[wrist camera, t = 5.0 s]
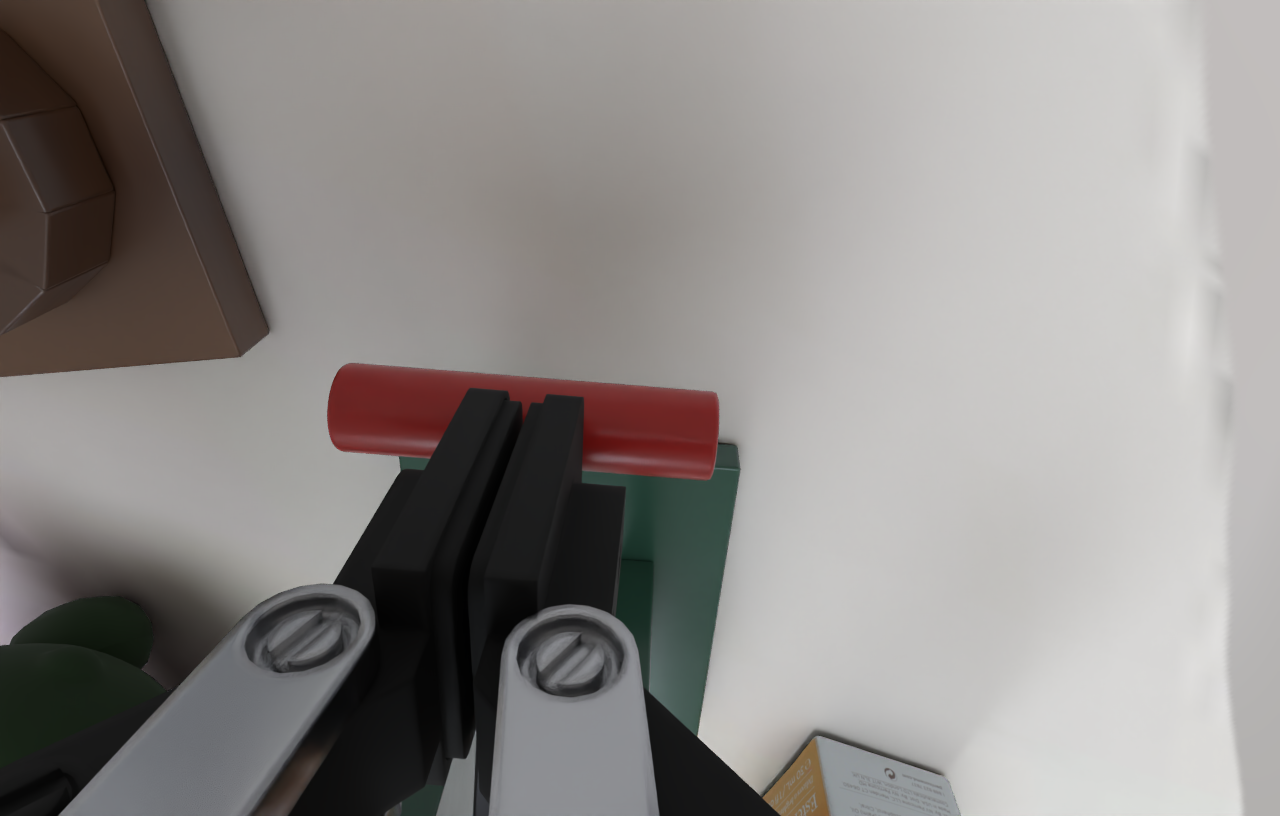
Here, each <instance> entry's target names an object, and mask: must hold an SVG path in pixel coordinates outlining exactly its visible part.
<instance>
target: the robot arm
mask: <svg viewBox="0 0 1280 816" xmlns="http://www.w3.org/2000/svg"><path fill="white" fill-rule="evenodd" d="M583 430H584V397H580V396H568V395H555V394H546V396H545V399H544V402H543V403H536V402H531V404H530V407H529V409H528V412H527V415H526V417H525V420H524V423H523V410H522V403H521V401H511V400H510V396H509V392H508V391H506V390H494V389H481V388H469V389H468V391H467V392H466V394H465V396H464V398H463V400H462V401H461V403H460V405H459V407H458V409H457V411H456V412H455V414H454V416H453V418H452V420H451V422H450V423H449V425H448V427H447V429H446V431H445V432H444V434H443V436H442V438H441V440H440V442H439V443H438V445H437V447H436V449H435V451H434V453H433V454H432V456H431V458H430V460H429V462H428V464H427V465H426V467H425V469H424V470H417V469H404V470H402V471H401V472H400V473H399V475H398V476H397V477H396V479H395V481H394V483H393V484H392V486H391V488H390V489H389V491H388V493H387V494H386V496H385V498H384V499H383V501H382V503H381V504H380V506H379V508H378V509H377V511H376V513H375V514H374V516H373V518H372V519H371V521H370V523H369V524H368V526H367V528H366V529H365V531H364V533H363V534H362V536H361V538H360V540H359V541H358V543H357V545H356V546H355V548H354V550H353V551H352V553H351V555H350V556H349V558H348V560H347V561H346V563H345V565H344V566H343V568H342V570H341V571H340V573H339V575H338V576H337V578H336V580H335V581H334V583H333V584H314V585H306V586H300V587H296V588H293V589H290V590H287V591H284V592H281V593H278V594H276V595H274V596H273V597H271V598H269V599H267V600H265V601H263V602H261V603H260V604H258V605H257V606H256V607H255V608H253V609H252V610H251V611H250V612H249V613H247V614H246V615H245V616H244V617H243V618H242V619H241V620H240V621H239V622H238V623H237V624H236V625H235V626H234V627H233V628H232V630H231V631H230V632H229V633H228V634H227V635H226V636H225V637H224V638H223V639H222V640H221V641H220V642H219V644H218V645H217V646H216V647H215V648H214V649H213V650H212V651H211V652H210V653H209V654H208V655H207V656H206V657H205V659H204V660H203V661H202V662H201V663H200V664H199V665H198V666H197V667H196V668H195V669H194V670H193V671H192V672H191V674H190V675H189V676H188V677H187V678H186V679H185V680H184V681H183V682H182V683H181V684H180V685H179V686H178V687H176V688H173V689H171V690H169V691H167V692H165V693H162V694H160V695H158V696H156V697H154V698H151V699H149V700H147V701H145V702H143V703H141V704H138V705H136V706H134V707H132V708H130V709H127V710H125V711H123V712H121V713H119V714H116V715H114V716H112V717H110V718H108V719H106V720H103V721H101V722H99V723H97V724H95V725H92V726H90V727H88V728H86V729H84V730H82V731H79V732H77V733H75V734H73V735H71V736H68V737H66V738H64V739H62V740H60V741H57V742H55V743H53V744H51V745H49V746H47V747H44V748H42V749H40V750H38V751H36V752H33V753H31V754H29V755H27V756H25V757H22V758H20V759H18V760H16V761H14V762H12V763H10V764H8V765H7V766H5V767H3V768H1V769H0V816H400V815H401V802H402V801H404V800H405V799H407V798H408V797H410V796H411V795H413V794H414V793H416V792H418V791H419V790H421V789H422V788H424V787H425V785H426V784H427V785H439V786H445V783H446V780H447V777H448V773H449V770H450V767H451V763H452V760H453V758H457V759H466V758H467V756H468V754H469V751H470V748H471V745H472V741H473V738H474V734H475V731H476V741H477V757H478V773H479V790H480V793H481V794H482V795H483V797H484V798H485V799H486V801H487V802H488V803H489V805H490V807H489V816H781V815H780V814H779V813H778V812H777V811H775V810H774V809H773V808H772V807H771V806H770V805H769V804H768V803H767V802H766V801H765V800H764V799H763V798H762V797H761V796H759V795H758V794H757V793H756V792H755V791H754V790H753V789H752V788H751V787H750V786H749V785H748V784H747V783H746V782H745V781H743V780H742V779H741V778H740V777H739V776H738V775H737V774H736V773H735V772H734V771H733V770H732V769H731V768H730V767H729V766H727V765H726V764H725V763H724V762H723V761H722V760H721V759H720V758H719V757H718V756H717V755H716V754H715V753H714V752H713V751H711V750H710V749H709V748H708V747H707V746H706V745H705V744H704V743H703V742H702V741H701V740H700V739H699V738H698V737H697V736H696V735H694V734H693V733H692V732H691V731H690V730H689V729H688V728H687V727H686V726H685V725H684V724H683V723H682V722H681V721H680V720H678V719H677V718H676V717H675V716H674V715H673V714H672V713H671V712H670V711H669V710H668V709H667V708H666V707H665V706H664V705H662V704H661V703H660V702H659V701H658V700H657V699H656V698H655V697H654V696H653V695H652V694H651V693H650V692H649V691H648V690H646V689H645V688H644V687H643V683H642V676H641V668H640V660H639V652H638V649H637V646H636V643H635V640H634V637H633V635H632V633H631V632H630V631H629V630H628V628H627V627H626V626H625V625H624V624H623V622H621V621H620V620H618V619H617V618H615V616H616V607H617V597H618V587H619V577H620V567H621V555H622V543H623V530H624V515H625V501H626V487H624V486H612V485H600V484H588V483H582V460H583Z"/></svg>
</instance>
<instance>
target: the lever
mask: <svg viewBox="0 0 1280 816" xmlns="http://www.w3.org/2000/svg"><path fill="white" fill-rule="evenodd" d="M469 388H481V389H494V390H506V391H508V392H509V396H510V400H511V401H521V403H522V410H523V423H524V420H525V417H526V415H527V412H528V409H529V407H530V404H531V402H536V403H543V402H544V399H545V396H546V394H555V395H568V396H580V397H584V430H583V460H582V471H592V472H604V473H617V474H629V475H642V476H654V477H667V478H679V479H692V480H704V481H706V480H709V479H711V477H712V475H713V472H714V467H715V462H716V455H717V446H718V434H719V399H718V396H717V394H716V393H715V392H712V391H699V390H686V389H674V388H661V387H649V386H636V385H624V384H611V383H598V382H586V381H573V380H561V379H548V378H535V377H523V376H510V375H498V374H485V373H473V372H460V371H447V370H435V369H422V368H410V367H397V366H385V365H372V364H359V363H349V364H346V365H344V366H342V367H341V368H340V369H339V371H338V372H337V374H336V376H335V378H334V380H333V383H332V386H331V390H330V394H329V400H328V409H327V421H328V430H329V435H330V438H331V441H332V443H333V444H334V446H335V447H336V448H337V449H339V450H341V451H343V452H353V453H366V454H379V455H391V456H404V457H416V458H429V459H430V458H431V456H432V454H433V453H434V451H435V449H436V447H437V445H438V443H439V442H440V440H441V438H442V436H443V434H444V432H445V431H446V429H447V427H448V425H449V423H450V422H451V420H452V418H453V416H454V414H455V412H456V411H457V409H458V407H459V405H460V403H461V401H462V400H463V398H464V396H465V394H466V392H467V391H468V389H469ZM489 807H490V805H489V803H488V802H487V801H486V799H485V798H484V797H483V795H482V794H481V793H480V790H479V773H478V757H477V741H476V753H475V776H474V800H473V816H489Z"/></svg>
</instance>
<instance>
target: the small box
mask: <svg viewBox="0 0 1280 816" xmlns="http://www.w3.org/2000/svg"><path fill="white" fill-rule="evenodd" d="M763 799H764V800H765V801H766V802H767V803H768V804H769V805H770V806H771V807H772V808H773V809H774V810H775V811H777V812H778V813H779V814H780V815H781V816H961V814H960V811H959V808H958V805H957V803H956V799H955V796H954V794H953V791H952V788H951V785H950V782H949V781H948V779H947V778H946V777H944V776H941V775H938V774H935V773H932V772H929V771H926V770H923V769H920V768H917V767H914V766H911V765H908V764H904V763H902V762H899V761H896V760H892V759H889V758H886V757H883V756H880V755H877V754H874V753H871V752H868V751H865V750H862V749H859V748H856V747H853V746H850V745H846V744H843V743H840V742H837V741H834V740H831V739H828V738H825V737H822V736H815V737H814V738H813V739H812V740H811V741H810V743H809V744H808V745H807V747H806V748H805V749H804V750H803V751H802V753H801V754H800V756H799V757H798V758H797V759H796V761H795V762H794V763H793V764H792V765H791V767H790V768H789V769H788V770H787V771H786V772H785V773H784V775H783V776H782V777H781V778H780V779H779V780H778V781H777V783H776V784H775V785H774V786H773V787H772V788H771V789H770V790H769V791H768V792H767V794H766V795H765V796H764V797H763Z"/></svg>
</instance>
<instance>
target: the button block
mask: <svg viewBox="0 0 1280 816" xmlns="http://www.w3.org/2000/svg"><path fill="white" fill-rule="evenodd" d="M268 334H269V330H268V328H267V325H266V322H265V320H264V317H263V314H262V312H261V309H260V306H259V304H258V301H257V298H256V296H255V293H254V291H253V288H252V285H251V283H250V280H249V277H248V275H247V272H246V269H245V267H244V264H243V261H242V259H241V256H240V253H239V251H238V248H237V245H236V243H235V240H234V237H233V235H232V232H231V229H230V227H229V224H228V221H227V219H226V216H225V213H224V211H223V208H222V205H221V203H220V200H219V197H218V195H217V192H216V189H215V187H214V184H213V181H212V179H211V176H210V174H209V171H208V168H207V166H206V163H205V160H204V158H203V155H202V152H201V150H200V147H199V144H198V142H197V139H196V136H195V134H194V131H193V128H192V126H191V123H190V120H189V118H188V115H187V112H186V110H185V107H184V104H183V102H182V99H181V96H180V94H179V91H178V88H177V86H176V83H175V80H174V78H173V75H172V72H171V70H170V67H169V64H168V62H167V59H166V56H165V54H164V51H163V49H162V46H161V43H160V41H159V38H158V35H157V33H156V30H155V27H154V25H153V22H152V19H151V17H150V14H149V11H148V9H147V6H146V3H145V1H144V0H0V377H8V376H20V375H32V374H44V373H56V372H68V371H80V370H92V369H104V368H116V367H128V366H140V365H152V364H164V363H176V362H188V361H200V360H212V359H224V358H235V357H241V356H242V355H244V354H245V353H246V352H247V351H248V350H250V349H251V348H252V347H253V346H254V345H256V344H257V343H258V342H259V341H260V340H262V339H263V338H264V337H265V336H266V335H268Z"/></svg>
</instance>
